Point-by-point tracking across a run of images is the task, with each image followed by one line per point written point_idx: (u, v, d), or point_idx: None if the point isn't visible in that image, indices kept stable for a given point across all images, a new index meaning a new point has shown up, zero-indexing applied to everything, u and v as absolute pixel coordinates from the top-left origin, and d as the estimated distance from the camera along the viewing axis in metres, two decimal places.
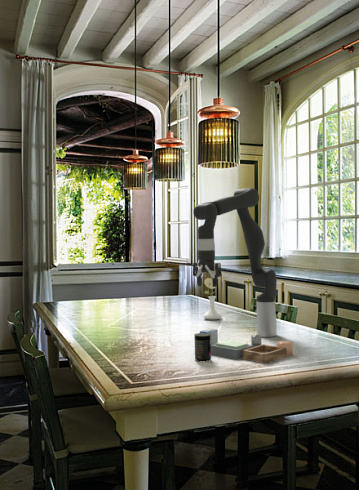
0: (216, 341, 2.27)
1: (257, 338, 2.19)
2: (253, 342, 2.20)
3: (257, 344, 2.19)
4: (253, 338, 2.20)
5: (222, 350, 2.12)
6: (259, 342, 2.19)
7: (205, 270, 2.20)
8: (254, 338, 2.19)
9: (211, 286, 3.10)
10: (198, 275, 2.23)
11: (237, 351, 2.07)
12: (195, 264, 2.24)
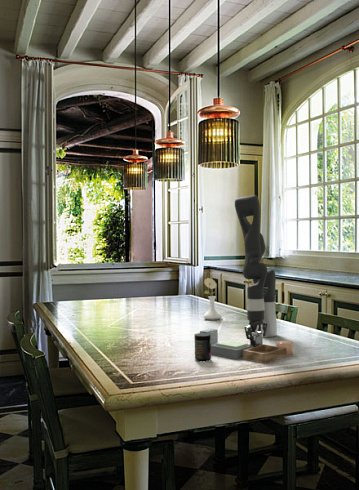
0: (216, 341, 2.27)
1: (257, 338, 2.19)
2: None
3: (257, 344, 2.19)
4: None
5: (222, 350, 2.12)
6: (259, 342, 2.19)
7: (258, 329, 2.20)
8: None
9: (211, 286, 3.10)
10: (255, 337, 2.19)
11: (237, 351, 2.07)
12: None
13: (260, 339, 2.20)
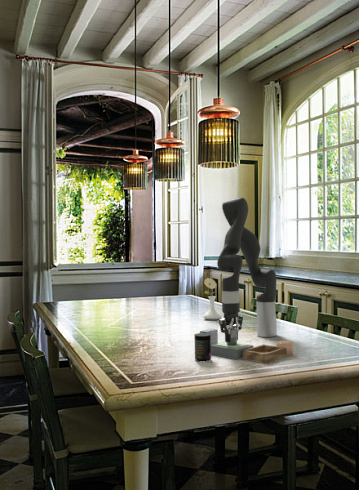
0: (216, 341, 2.27)
1: (232, 331, 2.13)
2: None
3: (232, 337, 2.13)
4: None
5: (222, 350, 2.12)
6: (234, 335, 2.14)
7: (233, 323, 2.15)
8: None
9: (211, 286, 3.10)
10: None
11: (237, 351, 2.07)
12: None
13: (235, 332, 2.14)
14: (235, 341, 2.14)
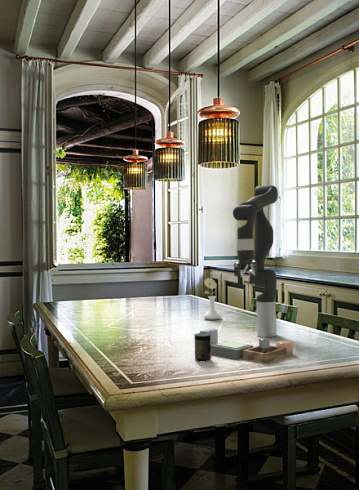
0: (216, 341, 2.27)
1: (265, 341, 2.06)
2: (261, 346, 2.07)
3: (265, 348, 2.06)
4: (261, 341, 2.07)
5: (222, 350, 2.12)
6: (267, 346, 2.07)
7: (248, 269, 2.28)
8: (262, 341, 2.07)
9: (211, 286, 3.10)
10: None
11: (237, 351, 2.07)
12: None
13: (268, 342, 2.07)
14: (268, 351, 2.07)
